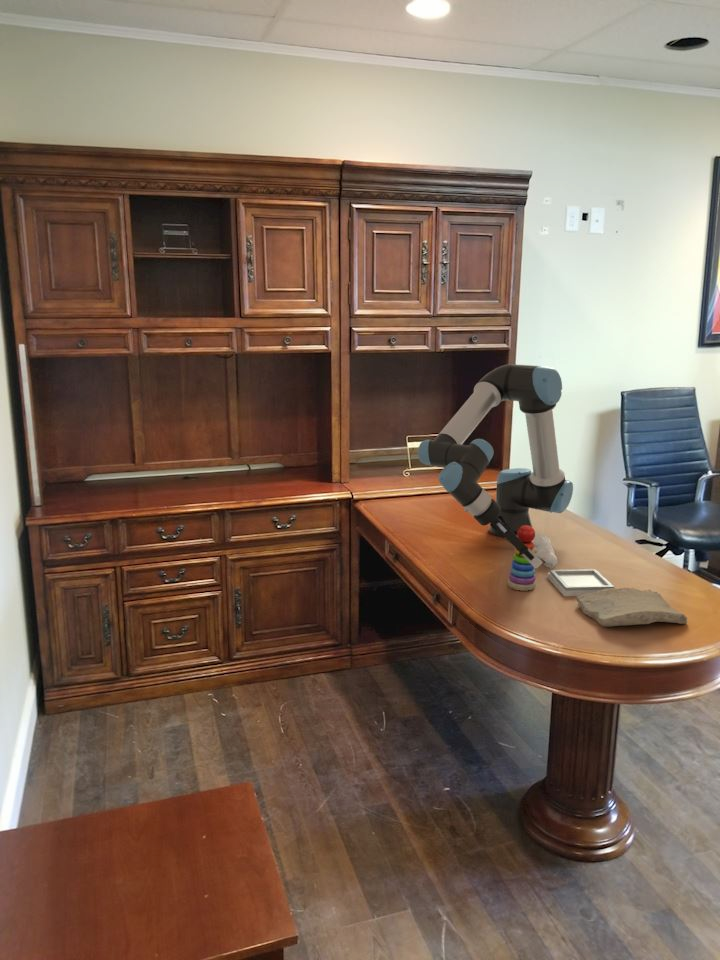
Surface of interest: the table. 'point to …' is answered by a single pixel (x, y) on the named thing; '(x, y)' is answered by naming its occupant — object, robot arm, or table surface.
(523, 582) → the stacking toy
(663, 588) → the table surface
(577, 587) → the tray
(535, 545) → the lumpy white figurine
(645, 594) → the tablet
